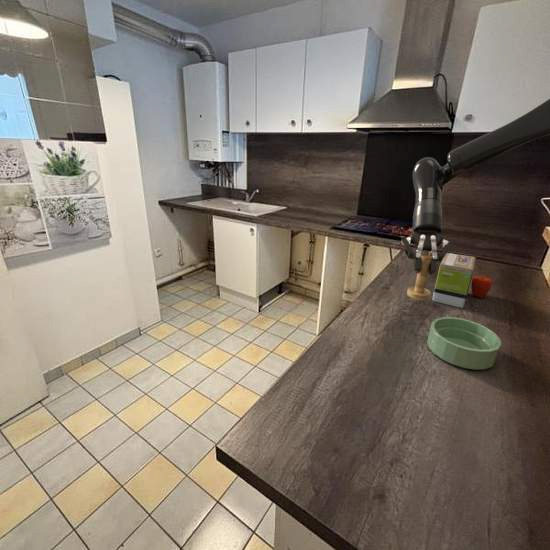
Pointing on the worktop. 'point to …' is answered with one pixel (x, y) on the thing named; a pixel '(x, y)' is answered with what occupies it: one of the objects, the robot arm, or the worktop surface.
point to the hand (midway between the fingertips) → (424, 272)
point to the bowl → (463, 343)
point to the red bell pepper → (480, 286)
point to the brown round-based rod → (421, 281)
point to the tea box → (454, 279)
